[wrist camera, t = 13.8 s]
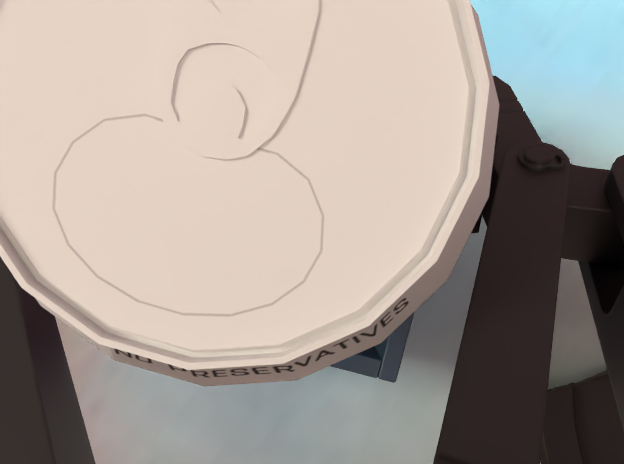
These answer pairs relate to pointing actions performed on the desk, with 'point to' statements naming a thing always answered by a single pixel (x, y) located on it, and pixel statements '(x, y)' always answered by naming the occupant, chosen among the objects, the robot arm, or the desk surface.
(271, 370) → the supplement can
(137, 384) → the desk surface
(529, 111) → the desk surface
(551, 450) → the fan shaped piece
